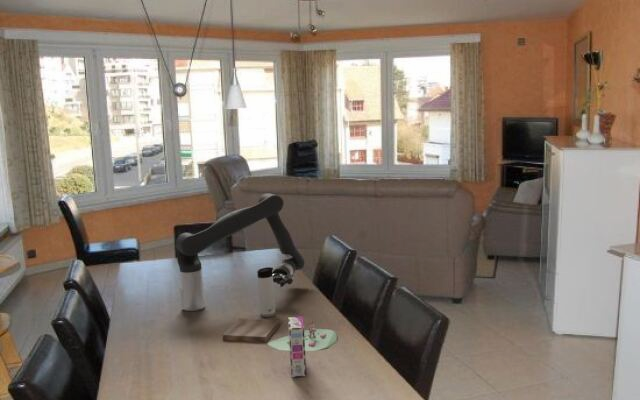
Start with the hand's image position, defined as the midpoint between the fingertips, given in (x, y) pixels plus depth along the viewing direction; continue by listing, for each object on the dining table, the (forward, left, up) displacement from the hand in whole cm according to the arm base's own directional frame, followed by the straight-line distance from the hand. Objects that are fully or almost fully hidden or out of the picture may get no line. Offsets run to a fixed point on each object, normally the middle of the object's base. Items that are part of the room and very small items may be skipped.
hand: (271, 284), depth 249 cm
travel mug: (0, -6, -11) cm, 13 cm away
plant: (+22, -31, -12) cm, 40 cm away
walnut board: (0, -25, -11) cm, 28 cm away
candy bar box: (+27, -54, -11) cm, 62 cm away
